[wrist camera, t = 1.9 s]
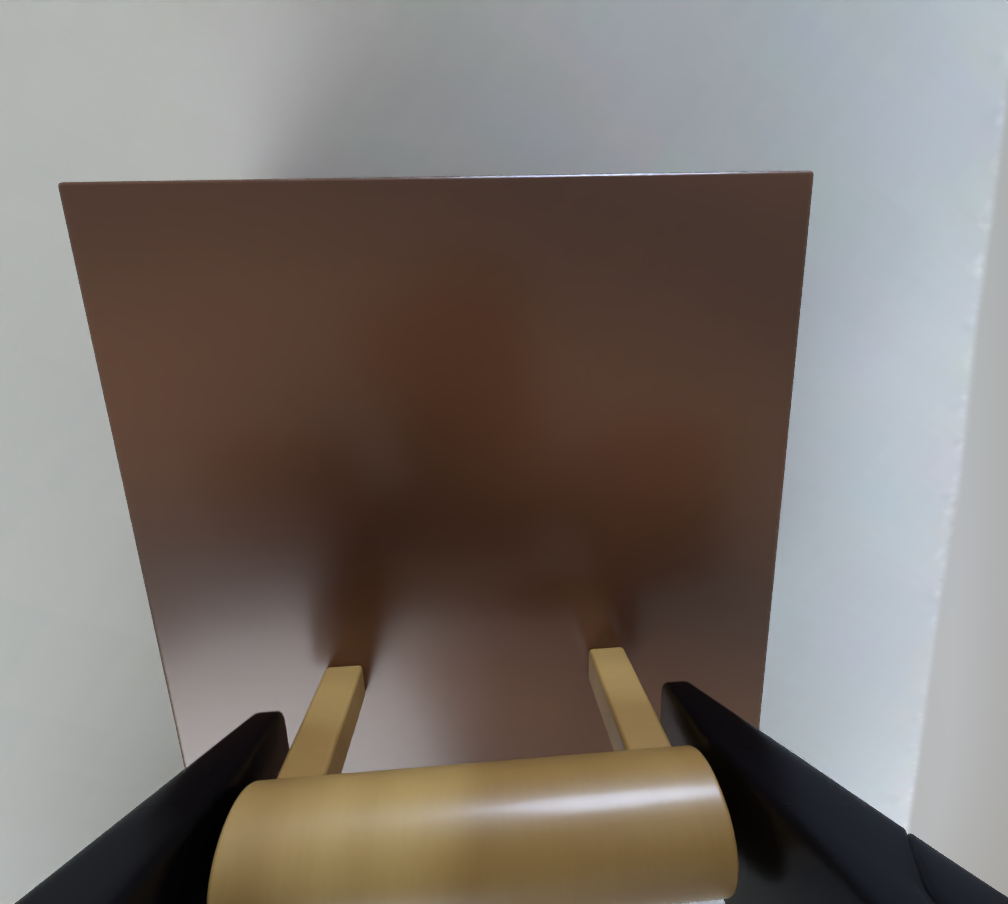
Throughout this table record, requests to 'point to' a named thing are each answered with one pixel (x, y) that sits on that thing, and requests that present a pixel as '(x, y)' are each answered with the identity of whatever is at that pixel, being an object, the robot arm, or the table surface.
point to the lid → (455, 510)
